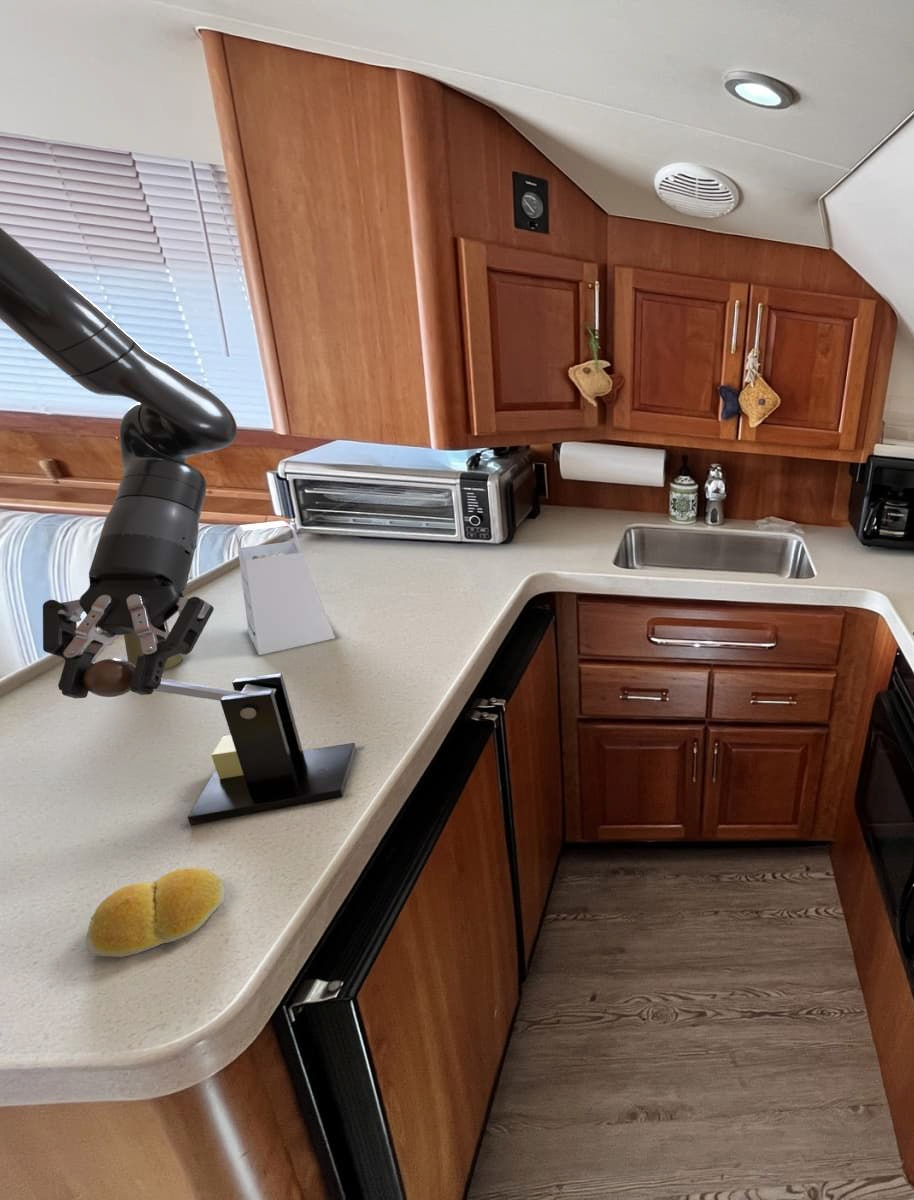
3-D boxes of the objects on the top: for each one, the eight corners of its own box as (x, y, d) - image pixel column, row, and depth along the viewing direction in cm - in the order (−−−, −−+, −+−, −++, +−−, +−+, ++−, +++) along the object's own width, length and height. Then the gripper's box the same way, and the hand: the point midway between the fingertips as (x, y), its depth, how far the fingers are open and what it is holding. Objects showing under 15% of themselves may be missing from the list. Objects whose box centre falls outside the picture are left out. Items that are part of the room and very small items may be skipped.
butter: (219, 779, 75) (211, 755, 74) (230, 759, 79) (222, 736, 77) (261, 772, 77) (254, 748, 76) (270, 753, 80) (263, 730, 79)
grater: (248, 632, 111) (216, 522, 103) (320, 618, 118) (296, 513, 110) (259, 655, 104) (226, 538, 96) (335, 638, 111) (310, 528, 104)
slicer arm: (70, 700, 64) (78, 665, 63) (90, 680, 67) (99, 648, 66) (261, 726, 72) (271, 696, 71) (271, 707, 75) (280, 679, 74)
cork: (184, 665, 100) (163, 601, 95) (130, 677, 95) (105, 610, 91) (180, 651, 103) (159, 588, 99) (128, 662, 99) (104, 597, 95)
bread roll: (227, 925, 59) (215, 894, 58) (88, 977, 54) (71, 944, 52) (227, 869, 65) (217, 839, 64) (102, 911, 60) (87, 879, 58)
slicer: (190, 826, 70) (151, 720, 65) (221, 771, 78) (188, 674, 73) (342, 797, 76) (317, 698, 70) (356, 749, 84) (335, 658, 79)
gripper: (38, 530, 66) (-17, 690, 60) (205, 530, 69) (168, 681, 63) (94, 562, 72) (49, 708, 66) (243, 560, 76) (214, 698, 70)
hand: (108, 694), depth 65 cm, fingers closed on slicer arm, 5 cm apart
